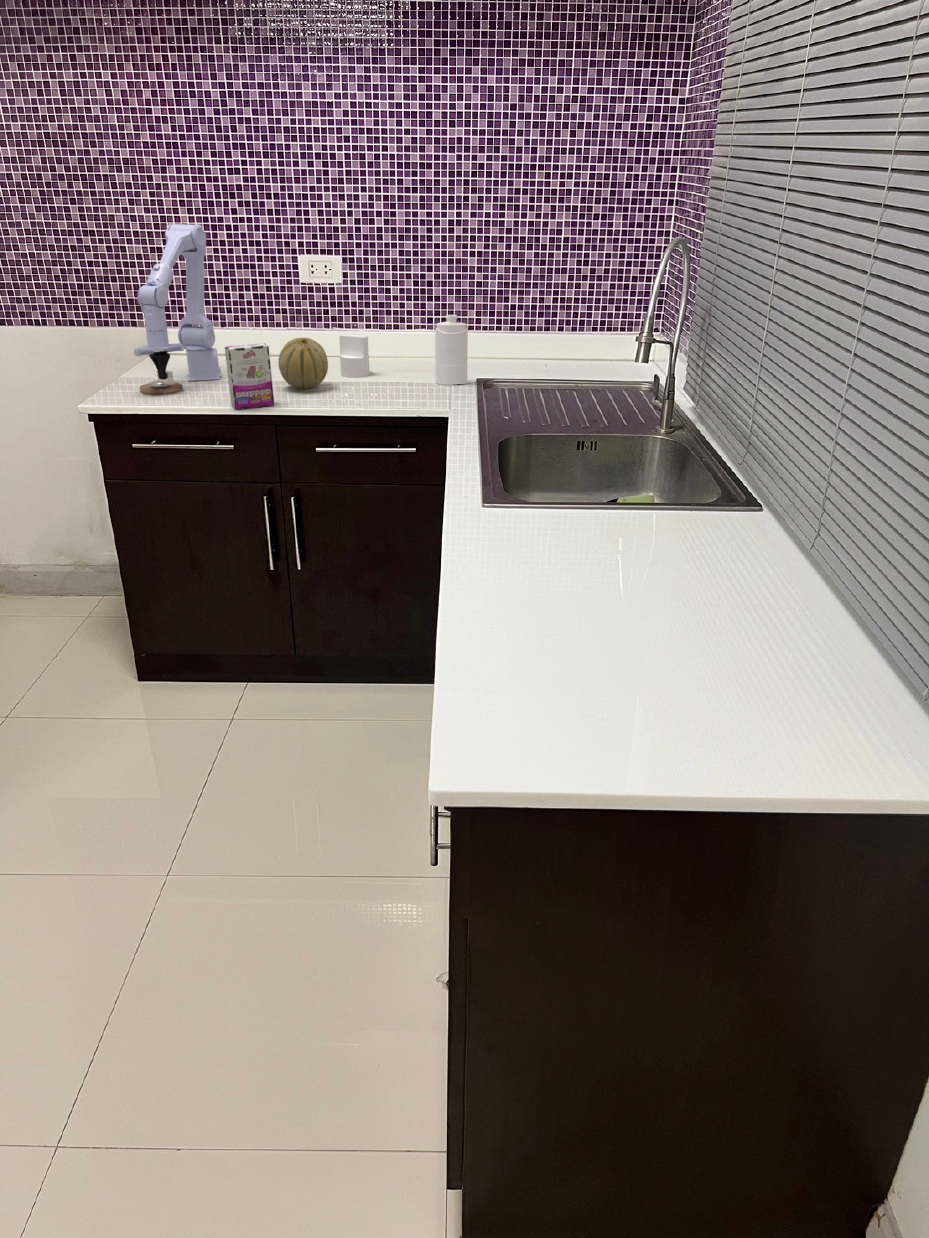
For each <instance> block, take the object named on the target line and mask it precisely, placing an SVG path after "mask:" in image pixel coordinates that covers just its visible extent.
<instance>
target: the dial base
mask: <svg viewBox="0 0 929 1238" xmlns="http://www.w3.org/2000/svg"><path fill="white" fill-rule="evenodd" d="M182 389H184V388H183V384H182V383H180V382H175V381H174V384H172V385H171V386H170V387H165V388H152V387H150V382H149V383H146V384H142V385H140V386H139V392H140V394H143V395H146V394H150V395H149V396H165V395H164V394H168V395H173V394H177V393H181V392H182V391H183V390H182ZM180 391H181V392H180Z"/></svg>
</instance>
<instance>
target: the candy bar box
mask: <svg viewBox="0 0 929 1238" xmlns="http://www.w3.org/2000/svg"><path fill="white" fill-rule="evenodd" d="M269 346H270V345H268V344H266V343H265V342H263V343H261V342H260V343H249V344H240V345H230V346H224V354H225V362H226V369H227V370H226V371H227V379H228V380H227V381H228V386H229V395H230V405H231V407H232V408H233V409H234V410H236V411H237V410H247V409H248V410H249V409H256V408H267V407H272V406H275V397H274V388H273V387H274V386H273V385H274V384H273V378H272V376H273V375H272V368H271V358H270V347H269Z"/></svg>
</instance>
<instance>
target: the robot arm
mask: <svg viewBox="0 0 929 1238" xmlns="http://www.w3.org/2000/svg"><path fill="white" fill-rule="evenodd" d="M164 237H165V240H166V241H165V242H166V243H165V245H164V246H165V247H164V250H163V252H162V256H161V259H160V260H159V261H160V262H159V263H156V264H154V266H153V267H152V269H151V271H150V274H149V276H148V278H147V281H146V283H145V284H143V285H142V286H141V287H139V289H138V291H137V297H136V299H137V302H138V304H139V306H140V309H141V310H140V311H141V312H142V314H143V315H144V325H145V332H146V340H147V345H146V346H142V347H141V346H140V347H136V348H133V354H134V356H135V357H142V356H149V358H150V359H151V361H152V362H153V365H154V366H155V368H156V371H157V370H158V377H159V379H162V380H164V379H166V371H167V366H168V364H169V362H170V359H171V353H172V352H183V351H184V350H185V355H186V360H187V368H188V369H187V370H188V374H187V380H188V382H190V381H191V382H192V381H193V382H194V381H195V382H196V381H209V380H210V381H213V380H214V381H215V380H220V379H221V374H220V373H221V367H220V364H219V355H218V349H217V348H216V347H215V348H214V347H213V346H214V345H215V342H216V334H215V330H214V323H213V322H212V321H211V320H210V319H209V318H208V317H206V316H205V256H206V255H207V234H206V232H205V230H204V229H203V227H202V225H200V224H198V223H197V224H196V223H194V224H183V223H182V224H181V223H180V224H178V223H176V224H175V223H168V225H167V227H166V231H165V233H164ZM180 255H181V256H182V257H183V258H184V260H185V274H186V275H185V283H186V284H185V289H186V290H185V294H186V295H185V296H186V297H185V300H186V301H185V303H186V314H185V316H184V317H182V319H181V320H180V321H179V327H178V330H177V331H178V332H177V339H178V342H179V343H178V342H177V343H169V335H168V326H167V316H166V309H165V307H166V306H167V304H168V302H169V287H170V285H171V283H172V280H173V278H174V276H175V273H174V272H173V268H174V266H175V264H176V263H177V261H178V260H179V257H180Z"/></svg>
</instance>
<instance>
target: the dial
mask: <svg viewBox="0 0 929 1238" xmlns="http://www.w3.org/2000/svg"><path fill="white" fill-rule="evenodd" d="M155 372H156V377H157V378H156V380H151V381H150V382H149V383H150V387H152V388H165V387H170V386H171V385H172V384H174V382H175V381H174V374H173V371H170V370H166V379H164V380H162V379H159V377H158V370H157V369H156V371H155Z"/></svg>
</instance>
